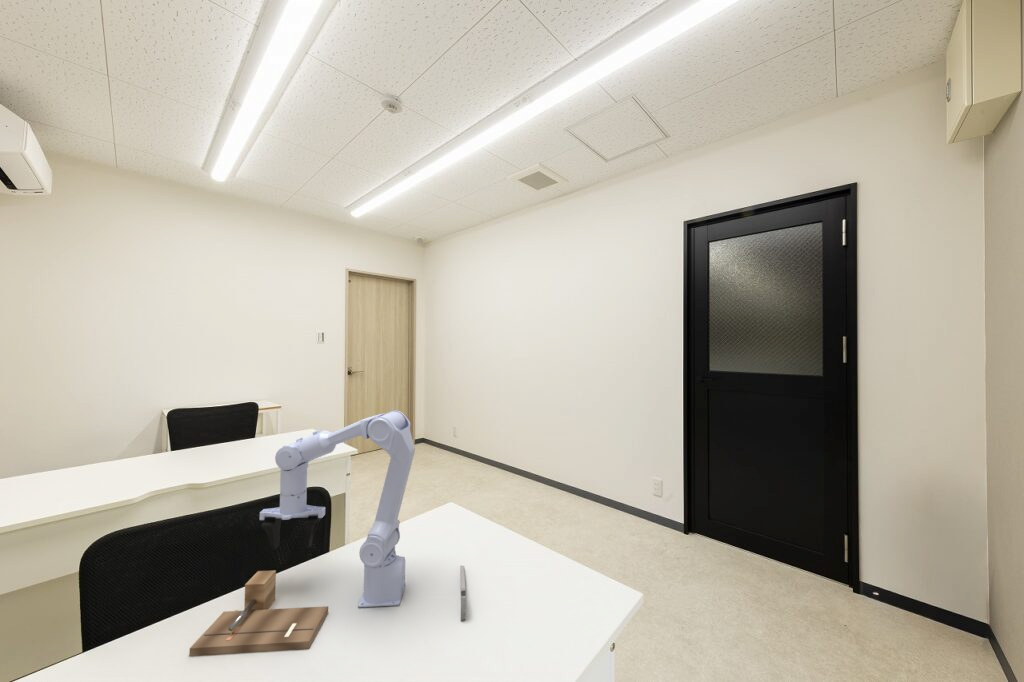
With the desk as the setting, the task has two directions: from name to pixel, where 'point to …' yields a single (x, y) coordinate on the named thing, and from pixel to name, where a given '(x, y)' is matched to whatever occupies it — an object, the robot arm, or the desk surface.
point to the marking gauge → (258, 594)
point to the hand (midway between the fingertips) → (292, 546)
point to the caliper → (462, 593)
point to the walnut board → (261, 631)
